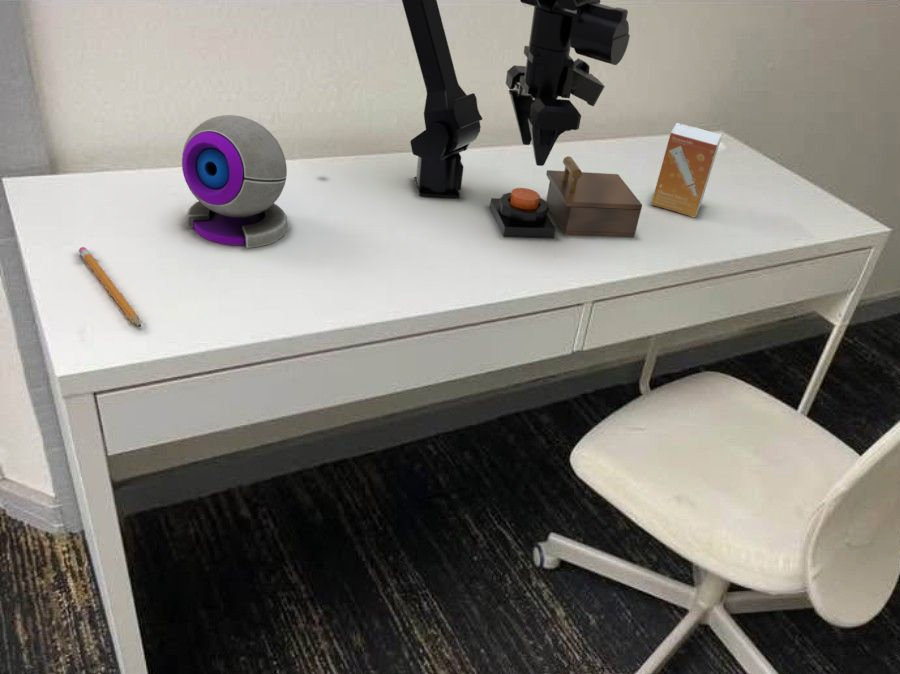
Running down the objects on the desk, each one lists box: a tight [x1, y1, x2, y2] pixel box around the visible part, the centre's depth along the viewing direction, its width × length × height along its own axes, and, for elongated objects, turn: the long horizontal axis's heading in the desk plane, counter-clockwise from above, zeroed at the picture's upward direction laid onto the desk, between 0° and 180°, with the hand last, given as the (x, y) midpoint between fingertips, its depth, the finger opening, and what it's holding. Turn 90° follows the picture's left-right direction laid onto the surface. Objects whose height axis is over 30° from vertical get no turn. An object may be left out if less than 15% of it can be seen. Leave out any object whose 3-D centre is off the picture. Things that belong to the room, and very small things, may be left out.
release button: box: [510, 187, 541, 210], centre depth 130 cm, size 4×4×2 cm
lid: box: [545, 155, 643, 211], centre depth 133 cm, size 12×12×5 cm
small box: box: [651, 122, 723, 218], centre depth 145 cm, size 8×6×13 cm
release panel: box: [489, 192, 556, 239], centre depth 132 cm, size 10×8×4 cm
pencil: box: [78, 246, 142, 328], centre depth 99 cm, size 1×1×19 cm
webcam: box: [181, 114, 288, 249], centre depth 113 cm, size 13×13×15 cm
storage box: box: [545, 181, 642, 239], centre depth 136 cm, size 12×12×5 cm
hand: (532, 154), depth 126 cm, fingers open, 8 cm apart
